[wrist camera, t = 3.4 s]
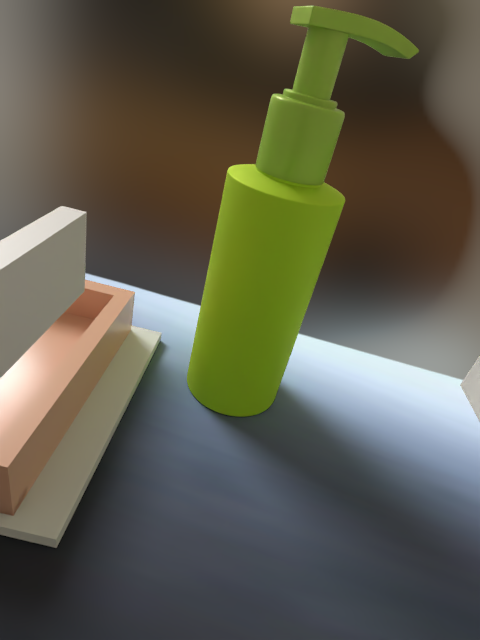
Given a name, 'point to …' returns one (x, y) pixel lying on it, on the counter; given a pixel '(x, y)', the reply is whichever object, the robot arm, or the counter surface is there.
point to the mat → (81, 447)
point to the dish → (56, 384)
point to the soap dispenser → (277, 225)
